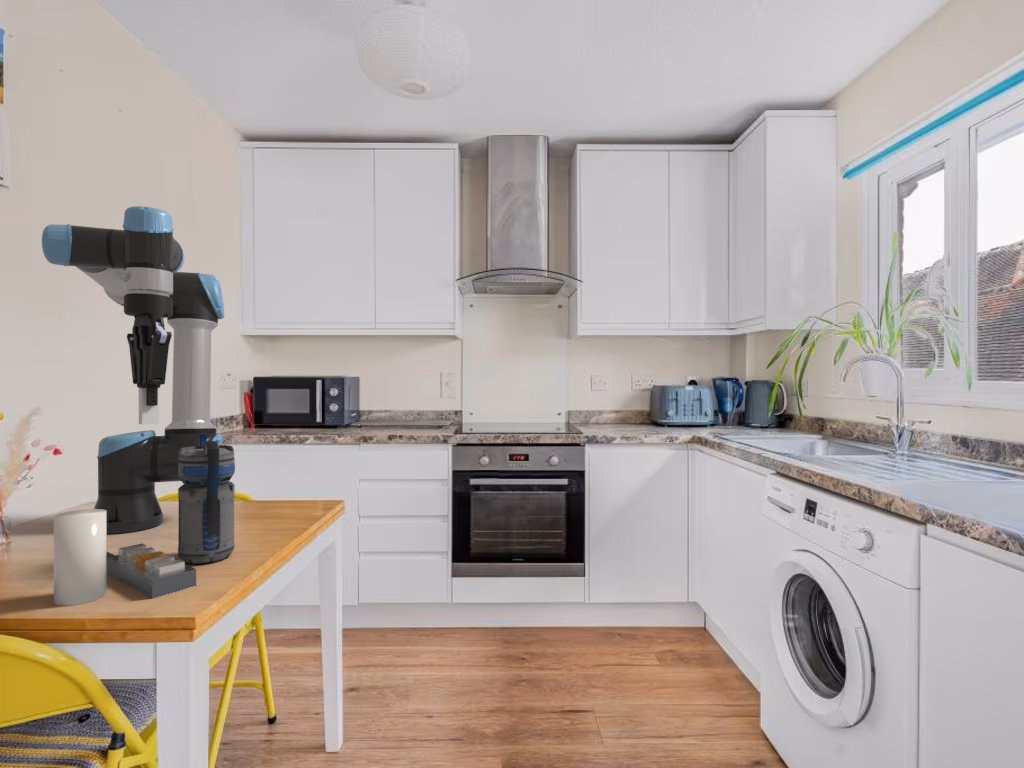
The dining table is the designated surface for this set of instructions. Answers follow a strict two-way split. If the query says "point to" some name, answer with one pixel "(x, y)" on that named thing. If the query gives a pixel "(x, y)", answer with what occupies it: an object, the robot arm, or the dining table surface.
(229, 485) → the beverage bottle
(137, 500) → the robot arm
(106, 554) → the dark gray rod
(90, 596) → the white glossy cylinder
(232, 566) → the dining table surface
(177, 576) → the grey long block
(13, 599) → the dining table surface
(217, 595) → the dining table surface
